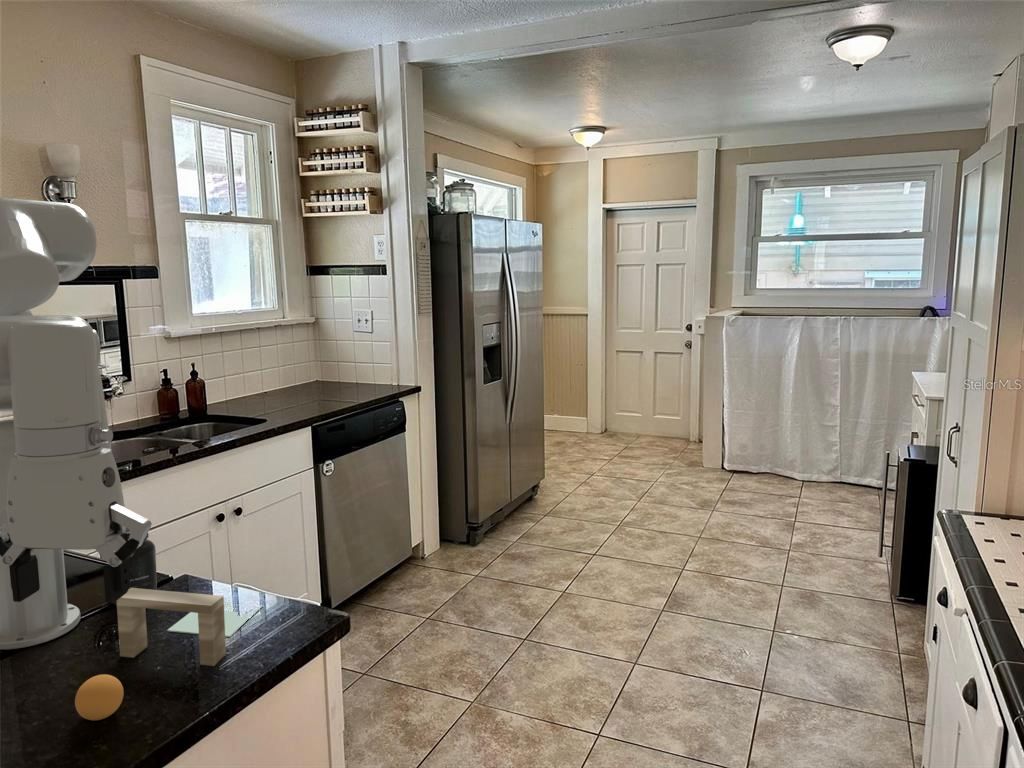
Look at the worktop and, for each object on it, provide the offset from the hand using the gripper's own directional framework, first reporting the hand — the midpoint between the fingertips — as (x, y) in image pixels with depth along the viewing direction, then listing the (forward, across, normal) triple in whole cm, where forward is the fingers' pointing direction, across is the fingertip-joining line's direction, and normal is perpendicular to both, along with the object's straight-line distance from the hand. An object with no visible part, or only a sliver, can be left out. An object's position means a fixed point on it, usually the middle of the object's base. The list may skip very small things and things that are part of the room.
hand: (72, 597), depth 74 cm
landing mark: (+18, -1, -32) cm, 36 cm away
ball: (+16, +2, -7) cm, 17 cm away
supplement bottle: (+18, +15, -38) cm, 44 cm away
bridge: (+18, 0, -21) cm, 27 cm away
